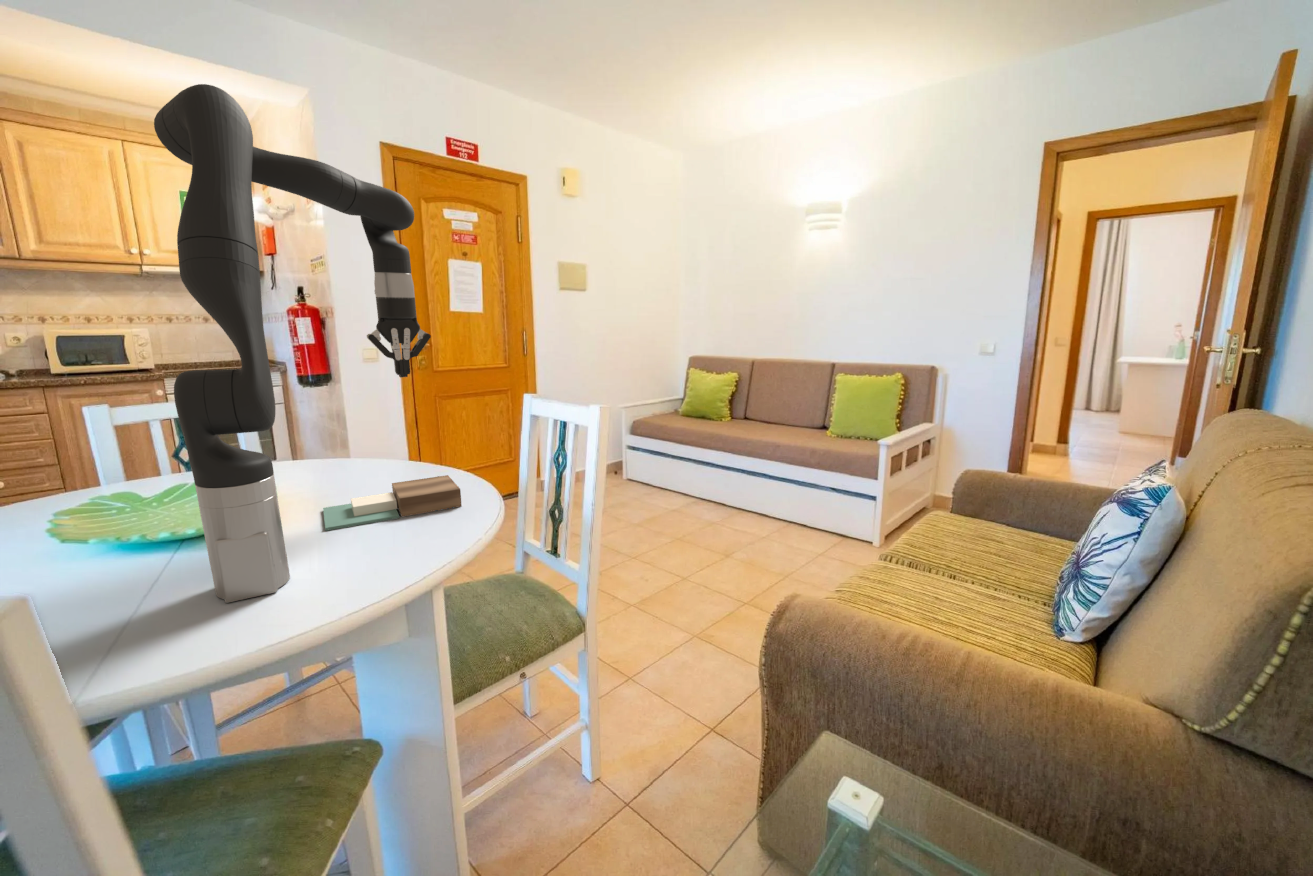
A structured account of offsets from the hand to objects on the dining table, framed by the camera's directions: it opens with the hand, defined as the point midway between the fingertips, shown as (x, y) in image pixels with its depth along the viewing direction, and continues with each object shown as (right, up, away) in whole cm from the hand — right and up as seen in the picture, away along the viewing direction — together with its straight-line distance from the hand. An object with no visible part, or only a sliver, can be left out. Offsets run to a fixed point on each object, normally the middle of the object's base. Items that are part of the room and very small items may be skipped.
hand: (403, 376), depth 118 cm
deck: (+5, -28, +1) cm, 28 cm away
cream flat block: (-4, -29, -4) cm, 29 cm away
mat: (-6, -30, -6) cm, 31 cm away
